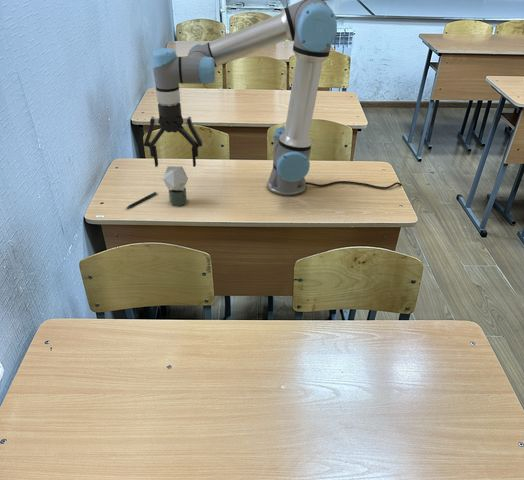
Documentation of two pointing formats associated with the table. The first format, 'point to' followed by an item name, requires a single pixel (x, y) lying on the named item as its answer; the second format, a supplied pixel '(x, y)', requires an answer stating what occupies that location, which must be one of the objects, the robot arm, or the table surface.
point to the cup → (178, 197)
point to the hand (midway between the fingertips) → (175, 165)
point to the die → (175, 178)
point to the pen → (142, 200)
